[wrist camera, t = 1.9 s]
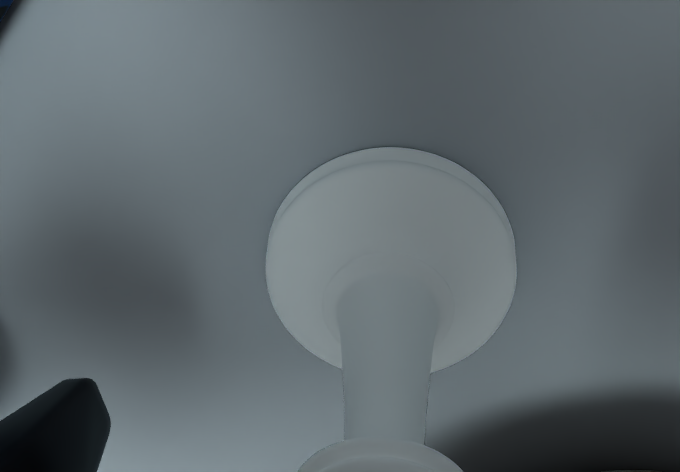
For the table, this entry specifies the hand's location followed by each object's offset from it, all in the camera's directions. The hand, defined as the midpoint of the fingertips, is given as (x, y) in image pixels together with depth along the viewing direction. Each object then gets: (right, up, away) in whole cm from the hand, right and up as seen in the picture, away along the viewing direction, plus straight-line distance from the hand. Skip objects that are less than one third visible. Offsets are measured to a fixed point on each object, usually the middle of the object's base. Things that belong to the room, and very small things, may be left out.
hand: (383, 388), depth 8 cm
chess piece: (0, +2, +3) cm, 4 cm away
